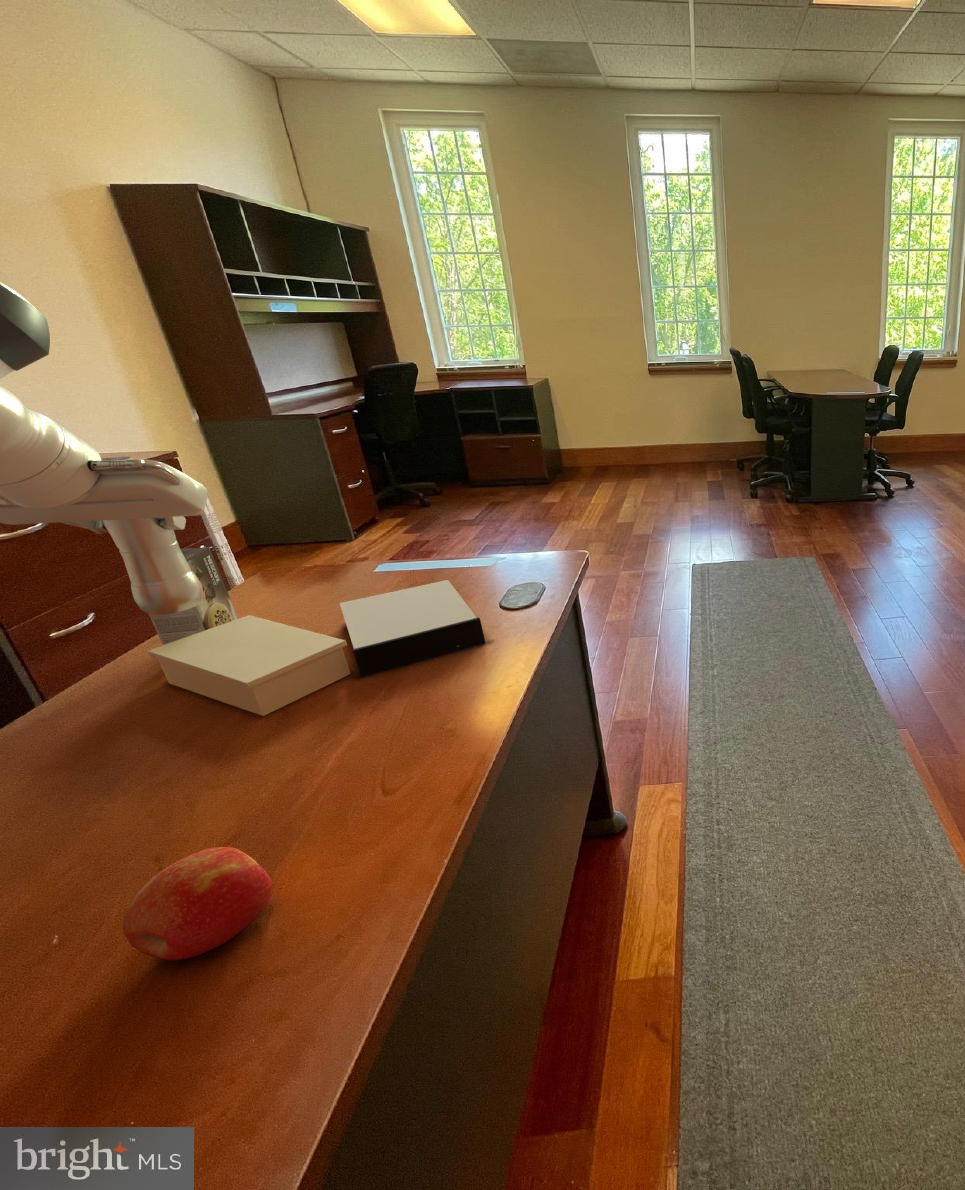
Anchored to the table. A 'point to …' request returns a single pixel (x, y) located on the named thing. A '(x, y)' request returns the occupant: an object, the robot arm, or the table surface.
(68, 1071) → the table surface
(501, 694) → the table surface
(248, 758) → the table surface
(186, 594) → the plastic bottle
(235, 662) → the flat beige lidded box
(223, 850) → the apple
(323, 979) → the table surface
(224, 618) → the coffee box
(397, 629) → the disc drive
